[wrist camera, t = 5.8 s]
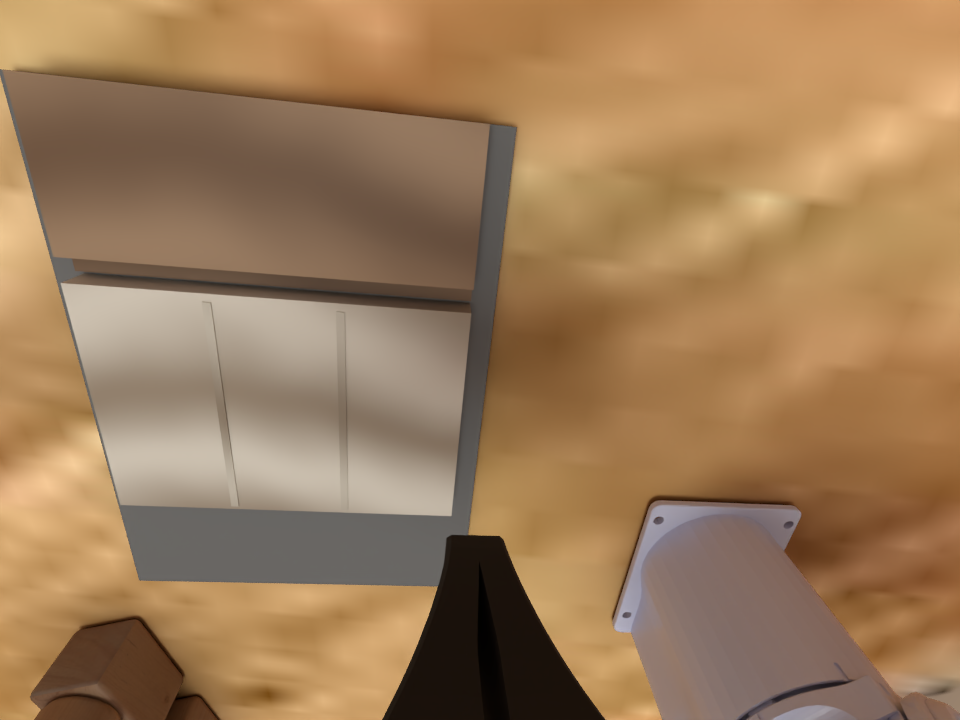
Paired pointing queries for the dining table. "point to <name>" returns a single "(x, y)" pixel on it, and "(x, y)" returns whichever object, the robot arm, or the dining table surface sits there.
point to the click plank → (273, 394)
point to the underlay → (327, 535)
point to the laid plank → (252, 188)
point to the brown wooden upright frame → (114, 679)
